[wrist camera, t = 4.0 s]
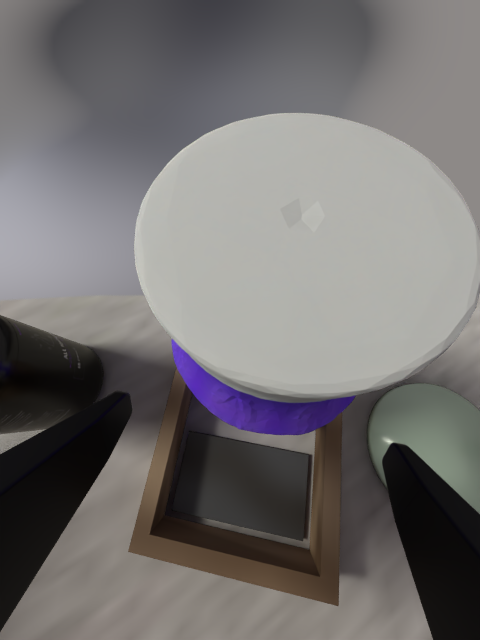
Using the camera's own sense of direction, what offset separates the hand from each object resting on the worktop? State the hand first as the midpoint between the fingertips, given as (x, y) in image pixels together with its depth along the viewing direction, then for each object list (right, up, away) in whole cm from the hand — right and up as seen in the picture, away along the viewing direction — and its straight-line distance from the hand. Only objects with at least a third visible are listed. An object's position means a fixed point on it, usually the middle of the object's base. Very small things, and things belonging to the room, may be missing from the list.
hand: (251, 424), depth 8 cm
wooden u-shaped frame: (0, -5, +10) cm, 11 cm away
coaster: (+13, -6, +9) cm, 17 cm away
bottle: (+1, -1, +11) cm, 11 cm away
